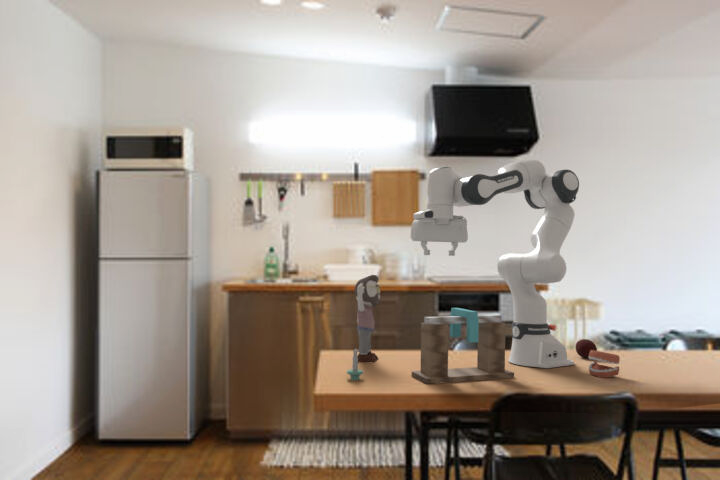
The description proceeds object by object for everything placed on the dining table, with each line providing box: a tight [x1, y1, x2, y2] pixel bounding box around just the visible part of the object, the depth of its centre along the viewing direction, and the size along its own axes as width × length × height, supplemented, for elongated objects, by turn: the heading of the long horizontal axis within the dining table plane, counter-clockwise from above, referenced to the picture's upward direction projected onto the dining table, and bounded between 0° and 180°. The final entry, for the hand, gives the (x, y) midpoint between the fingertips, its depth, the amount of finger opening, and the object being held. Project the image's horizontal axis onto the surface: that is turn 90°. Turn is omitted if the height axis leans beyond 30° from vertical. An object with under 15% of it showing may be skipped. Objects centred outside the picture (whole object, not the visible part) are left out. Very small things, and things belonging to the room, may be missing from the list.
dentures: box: [587, 350, 621, 378], centre depth 163 cm, size 9×7×8 cm
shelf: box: [411, 314, 515, 385], centre depth 158 cm, size 30×10×18 cm, turn 110°
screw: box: [346, 348, 365, 381], centre depth 152 cm, size 9×5×5 cm
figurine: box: [354, 274, 381, 363], centre depth 179 cm, size 18×9×30 cm, turn 168°
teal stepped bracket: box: [449, 307, 479, 343], centre depth 158 cm, size 3×12×9 cm, turn 20°
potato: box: [574, 338, 598, 359], centre depth 192 cm, size 7×8×7 cm
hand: (439, 255), depth 174 cm, fingers open, 8 cm apart
